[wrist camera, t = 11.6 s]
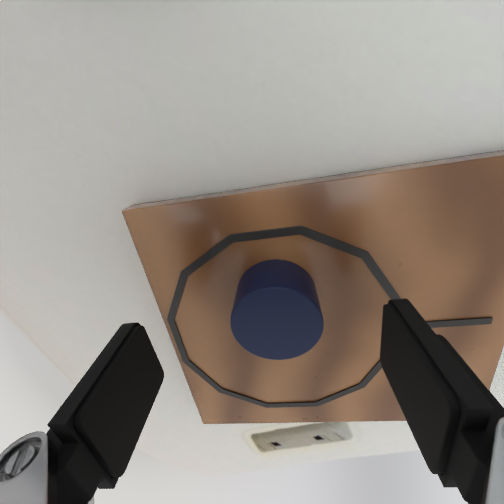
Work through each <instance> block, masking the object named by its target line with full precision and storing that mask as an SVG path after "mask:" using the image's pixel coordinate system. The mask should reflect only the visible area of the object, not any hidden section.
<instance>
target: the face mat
mask: <svg viewBox="0 0 504 504" xmlns="http://www.w3.org/2000/svg"><path fill="white" fill-rule="evenodd" d="M122 213H123V216H124V218H125V221H126V223H127V226H128V229H129V231H130V234H131V236H132V239H133V242H134V244H135V247H136V249H137V252H138V255H139V257H140V260H141V263H142V265H143V268H144V270H145V273H146V276H147V278H148V281H149V283H150V286H151V289H152V291H153V294H154V296H155V299H156V302H157V304H158V307H159V309H160V312H161V315H162V317H163V320H164V322H165V325H166V328H167V330H168V333H169V335H170V338H171V341H172V343H173V346H174V349H175V351H176V354H177V356H178V359H179V362H180V364H181V367H182V369H183V372H184V375H185V377H186V380H187V382H188V385H189V388H190V390H191V393H192V395H193V398H194V401H195V403H196V406H197V408H198V411H199V414H200V416H201V419H202V421H203V424H229V423H289V422H349V421H407V420H406V418H405V416H404V414H403V412H402V410H401V407H400V405H399V403H398V401H397V399H396V397H395V394H394V392H393V390H392V388H391V386H390V384H389V381H388V379H387V377H386V375H385V373H384V371H383V368H382V366H381V362H380V346H381V331H382V316H383V306H384V304H388V301H389V300H393V299H404V298H406V299H408V300H409V301H410V302H411V303H412V305H413V306H414V307H415V308H416V310H417V311H418V312H419V313H420V315H421V316H422V317H423V318H424V320H425V321H426V322H427V324H428V325H429V326H430V327H431V329H432V330H433V331H434V332H435V334H436V335H437V334H440V335H442V336H444V337H445V338H446V339H447V340H448V341H449V343H450V344H451V345H452V346H453V348H454V349H455V350H456V351H457V352H458V354H459V355H460V356H461V357H462V358H463V360H464V361H465V362H466V363H467V364H468V366H469V367H470V368H471V369H472V371H473V372H474V373H475V374H476V375H477V377H478V378H479V379H480V380H481V381H482V383H483V384H484V385H485V386H486V388H487V389H488V390H489V389H490V386H491V383H492V380H493V377H494V374H495V371H496V368H497V365H498V361H499V358H500V355H501V352H502V349H503V346H504V150H503V151H496V152H489V153H483V154H476V155H469V156H462V157H456V158H449V159H442V160H435V161H429V162H422V163H415V164H408V165H401V166H395V167H388V168H381V169H374V170H368V171H361V172H354V173H347V174H341V175H334V176H327V177H320V178H314V179H307V180H300V181H293V182H286V183H280V184H273V185H266V186H259V187H253V188H246V189H239V190H232V191H226V192H219V193H212V194H205V195H199V196H192V197H185V198H178V199H171V200H165V201H158V202H151V203H144V204H138V205H132V206H130V207H128V208H126V209H125V210H123V211H122ZM274 259H278V260H286V261H290V262H293V263H295V264H297V265H299V266H300V267H302V268H303V269H304V270H306V271H307V272H308V273H309V275H310V276H311V277H312V279H313V281H314V284H315V287H316V291H317V295H318V299H319V303H320V307H321V311H322V315H323V320H324V328H323V332H322V335H321V338H320V339H319V341H318V342H317V344H316V345H315V346H314V347H313V348H312V349H311V350H309V351H308V352H306V353H305V354H303V355H301V356H298V357H295V358H292V359H286V360H271V359H265V358H261V357H258V356H256V355H254V354H252V353H250V352H248V351H247V350H245V349H244V348H243V347H242V346H241V345H240V344H239V343H238V342H237V341H236V339H235V337H234V335H233V333H232V330H231V326H230V318H231V313H232V308H233V304H234V300H235V296H236V292H237V287H238V284H239V281H240V279H241V277H242V276H243V274H244V273H245V272H246V271H247V270H248V269H249V268H250V267H252V266H254V265H255V264H257V263H260V262H262V261H266V260H274Z"/></svg>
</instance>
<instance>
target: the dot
mask: <svg viewBox="0 0 504 504" xmlns="http://www.w3.org/2000/svg"><path fill="white" fill-rule="evenodd" d="M230 326H231V330H232V333H233V335H234V337H235V339H236V341H237V342H238V343H239V344H240V345H241V346H242V347H243V348H244V349H245V350H247V351H248V352H250V353H252V354H254V355H256V356H258V357H261V358H265V359H271V360H286V359H292V358H295V357H298V356H301V355H303V354H305V353H306V352H308V351H309V350H311V349H312V348H313V347H314V346H315V345H316V344H317V342H318V341H319V339H320V338H321V335H322V332H323V328H324V320H323V315H322V311H321V307H320V303H319V299H318V295H317V291H316V287H315V284H314V281H313V279H312V277H311V276H310V275H309V273H308V272H307V271H306V270H304V269H303V268H302V267H300V266H299V265H297V264H295V263H293V262H290V261H286V260H278V259H274V260H266V261H262V262H260V263H257V264H255V265H254V266H252V267H250V268H249V269H248V270H247V271H246V272H245V273H244V274H243V276H242V277H241V279H240V281H239V284H238V287H237V292H236V296H235V300H234V304H233V308H232V313H231V318H230Z"/></svg>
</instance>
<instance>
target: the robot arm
mask: <svg viewBox="0 0 504 504" xmlns="http://www.w3.org/2000/svg"><path fill="white" fill-rule="evenodd" d="M380 362H381V366H382V368H383V371H384V373H385V375H386V377H387V379H388V381H389V384H390V386H391V388H392V390H393V392H394V394H395V397H396V399H397V401H398V403H399V405H400V407H401V410H402V412H403V414H404V416H405V418H406V420H407V422H408V425H409V427H410V429H411V431H412V433H413V435H414V438H415V440H416V442H417V444H418V446H419V448H420V451H421V453H422V455H423V457H424V459H425V461H426V463H427V466H428V468H429V469H430V471H431V472H432V473H433V474H438V476H439V478H440V480H441V482H442V484H443V486H444V487H458V489H459V491H460V493H461V495H462V497H463V499H464V500H465V501H467V502H468V504H504V408H503V407H502V406H501V404H500V403H499V402H498V401H497V400H496V398H495V397H494V396H493V395H492V394H491V392H490V391H489V390H488V389H487V388H486V386H485V385H484V384H483V383H482V381H481V380H480V379H479V378H478V377H477V375H476V374H475V373H474V372H473V371H472V369H471V368H470V367H469V366H468V364H467V363H466V362H465V361H464V360H463V358H462V357H461V356H460V355H459V354H458V352H457V351H456V350H455V349H454V348H453V346H452V345H451V344H450V343H449V341H448V340H447V339H446V338H445V337H444V336H442V335H440V334H437V335H436V334H435V332H434V331H433V330H432V329H431V327H430V326H429V325H428V324H427V322H426V321H425V320H424V318H423V317H422V316H421V315H420V313H419V312H418V311H417V310H416V308H415V307H414V306H413V305H412V303H411V302H410V301H409V300H408V299H406V298H404V299H393V300H389V301H388V304H384V306H383V316H382V331H381V346H380ZM163 378H164V372H163V369H162V367H161V364H160V362H159V360H158V358H157V355H156V353H155V351H154V348H153V346H152V344H151V342H150V339H149V337H148V335H147V332H146V330H145V328H144V327H143V326H141V325H140V324H139V323H127V324H123V325H121V326H120V328H119V329H118V331H117V332H116V333H115V335H114V336H113V337H112V339H111V340H110V341H109V343H108V344H107V345H106V347H105V348H104V349H103V351H102V352H101V353H100V355H99V356H98V357H97V359H96V360H95V361H94V363H93V364H92V366H91V367H90V368H89V370H88V371H87V372H86V374H85V375H84V376H83V378H82V379H81V380H80V382H79V383H78V384H77V386H76V387H75V388H74V390H73V391H72V393H71V394H70V395H69V396H68V398H67V399H66V400H65V402H64V403H63V405H62V406H61V407H60V409H59V410H58V411H57V413H56V414H55V415H54V417H53V418H52V419H51V421H50V422H49V423H48V426H49V427H50V429H49V431H48V432H47V434H45V433H44V432H38V431H37V432H33V433H29V434H27V435H25V436H23V437H21V438H19V439H18V440H17V441H15V442H14V443H12V444H11V445H10V446H9V447H7V448H6V449H5V450H4V451H3V452H2V453H1V454H0V504H94V493H95V491H96V489H97V487H98V488H99V489H105V488H106V489H108V488H109V489H111V488H112V489H114V487H115V485H116V483H117V481H118V478H119V477H121V476H122V475H123V474H124V472H125V470H126V468H127V465H128V463H129V460H130V458H131V455H132V453H133V451H134V449H135V446H136V444H137V441H138V439H139V437H140V434H141V432H142V429H143V427H144V425H145V422H146V420H147V417H148V415H149V413H150V410H151V408H152V406H153V403H154V401H155V398H156V396H157V394H158V391H159V389H160V386H161V384H162V382H163Z"/></svg>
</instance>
